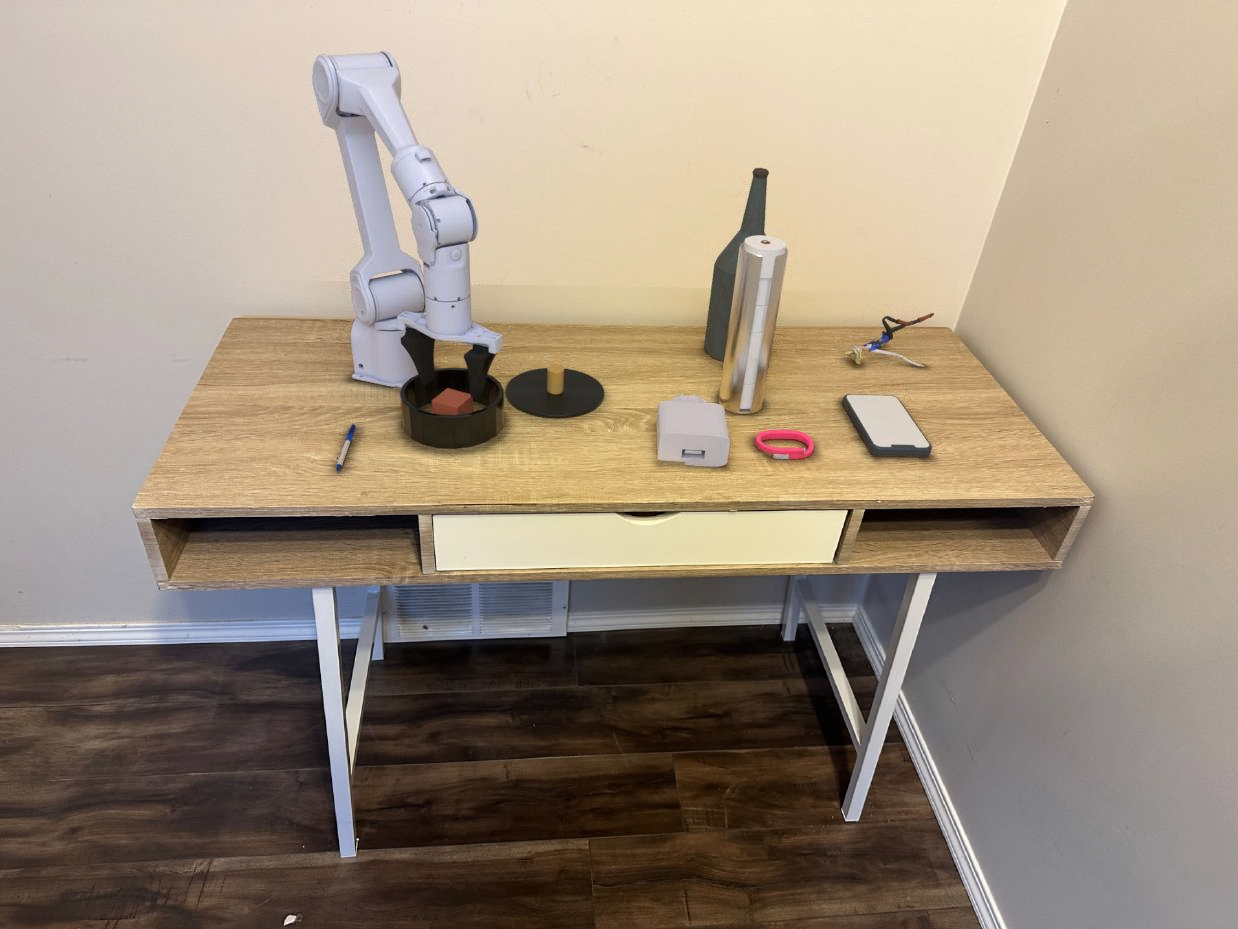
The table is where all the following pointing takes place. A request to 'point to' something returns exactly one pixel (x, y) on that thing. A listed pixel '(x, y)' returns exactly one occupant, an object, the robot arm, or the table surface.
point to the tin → (451, 427)
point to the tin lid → (554, 392)
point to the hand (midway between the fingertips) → (452, 388)
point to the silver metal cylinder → (752, 323)
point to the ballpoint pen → (345, 447)
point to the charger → (692, 431)
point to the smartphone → (886, 425)
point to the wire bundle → (884, 340)
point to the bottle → (733, 267)
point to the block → (452, 403)
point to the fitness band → (785, 452)
